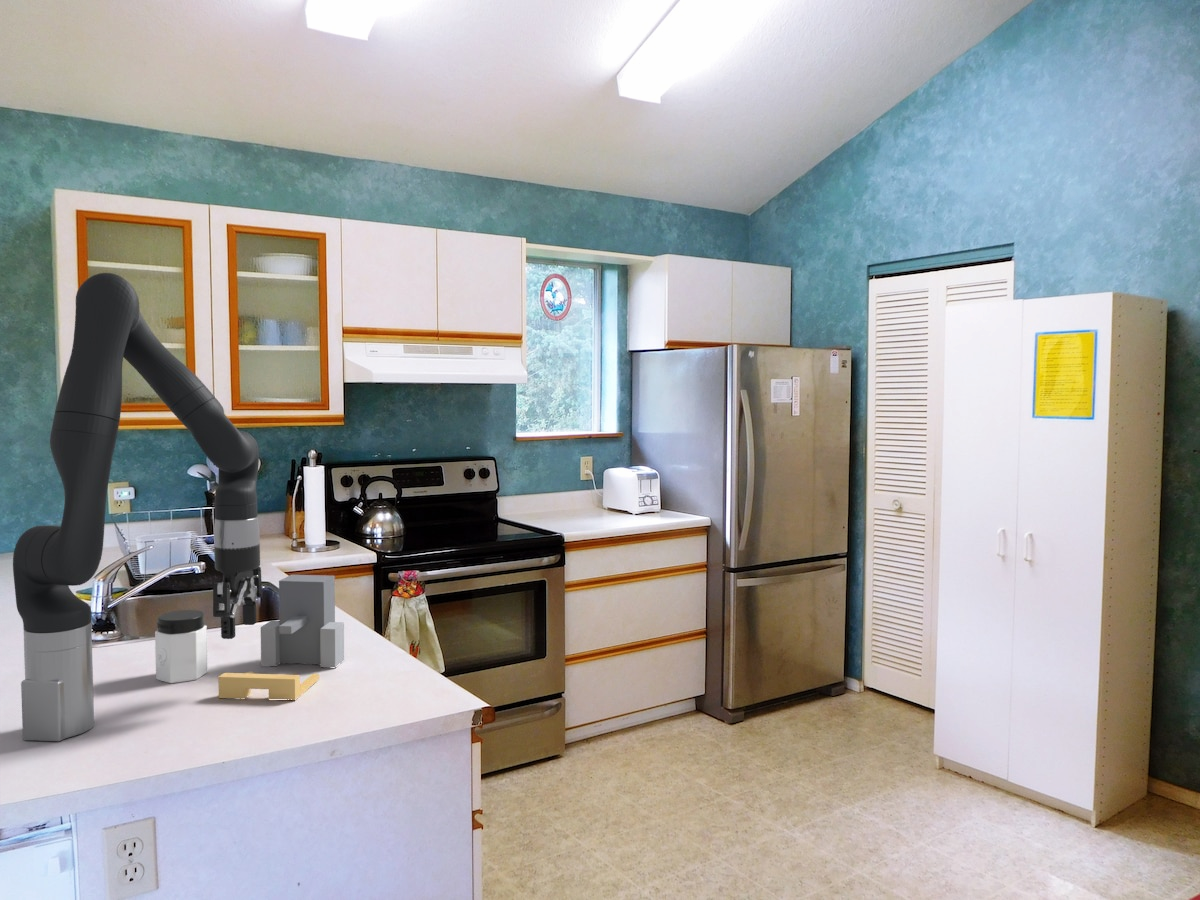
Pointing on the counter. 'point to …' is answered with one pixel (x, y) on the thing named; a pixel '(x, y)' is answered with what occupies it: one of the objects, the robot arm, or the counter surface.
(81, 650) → the robot arm
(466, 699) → the counter surface
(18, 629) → the counter surface
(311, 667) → the counter surface
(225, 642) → the counter surface
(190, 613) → the jar
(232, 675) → the tan u-shaped bracket
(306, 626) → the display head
